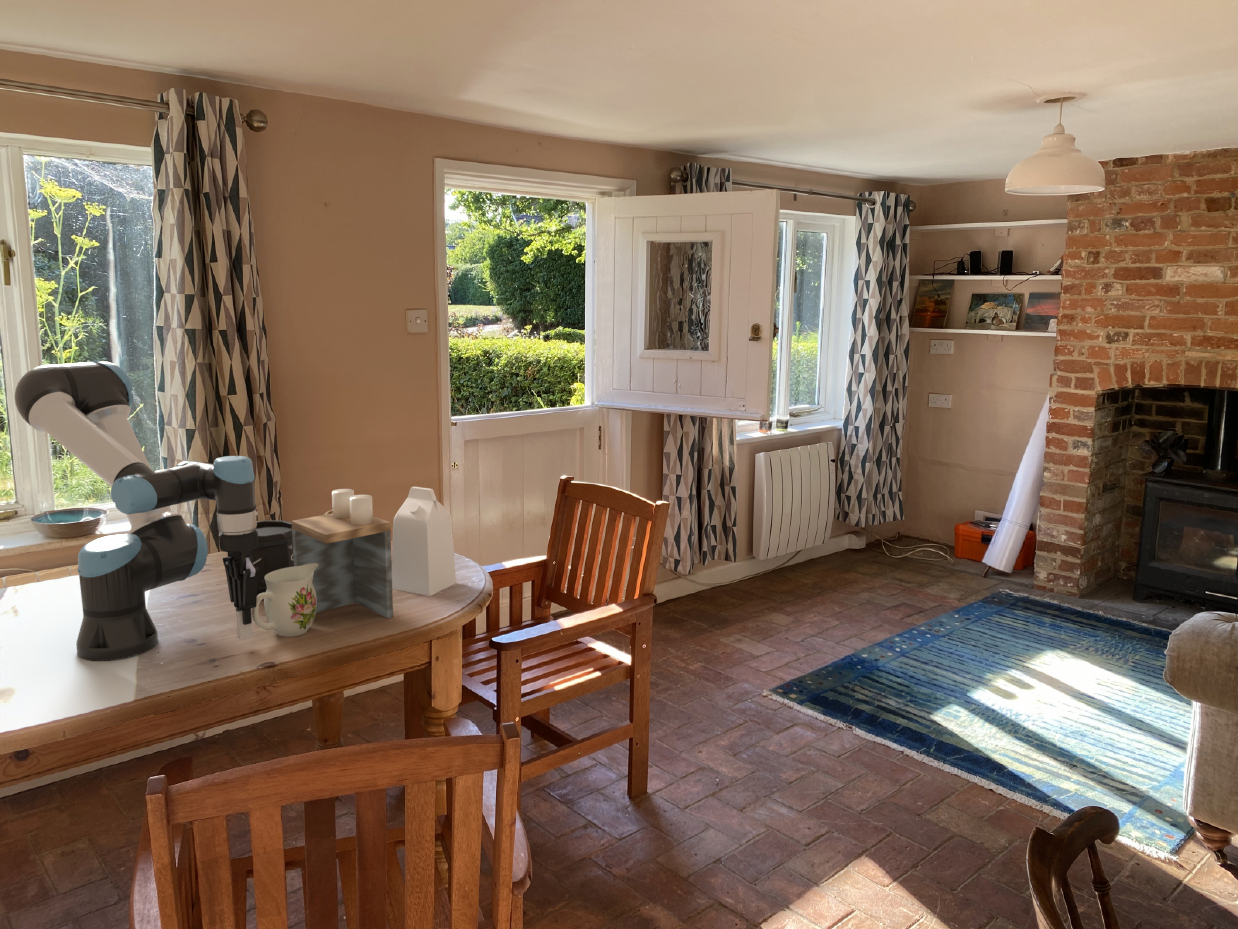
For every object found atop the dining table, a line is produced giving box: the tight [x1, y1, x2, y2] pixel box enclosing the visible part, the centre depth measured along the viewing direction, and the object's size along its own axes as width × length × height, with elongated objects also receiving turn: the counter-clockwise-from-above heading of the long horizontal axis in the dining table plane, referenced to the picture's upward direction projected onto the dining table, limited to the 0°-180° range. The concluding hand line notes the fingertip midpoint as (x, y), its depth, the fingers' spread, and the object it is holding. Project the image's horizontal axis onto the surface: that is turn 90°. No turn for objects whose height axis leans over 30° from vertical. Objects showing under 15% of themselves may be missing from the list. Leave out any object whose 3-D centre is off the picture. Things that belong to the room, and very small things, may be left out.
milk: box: [391, 486, 457, 597], centre depth 234 cm, size 12×12×26 cm
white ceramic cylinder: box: [331, 488, 355, 519], centre depth 213 cm, size 5×5×6 cm
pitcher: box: [251, 563, 319, 638], centre depth 202 cm, size 11×18×14 cm, turn 150°
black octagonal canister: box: [251, 519, 294, 596], centre depth 231 cm, size 18×18×16 cm
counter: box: [291, 513, 394, 619], centre depth 211 cm, size 16×16×23 cm
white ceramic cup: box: [349, 494, 374, 525], centre depth 208 cm, size 5×5×6 cm
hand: (245, 637), depth 195 cm, fingers closed
